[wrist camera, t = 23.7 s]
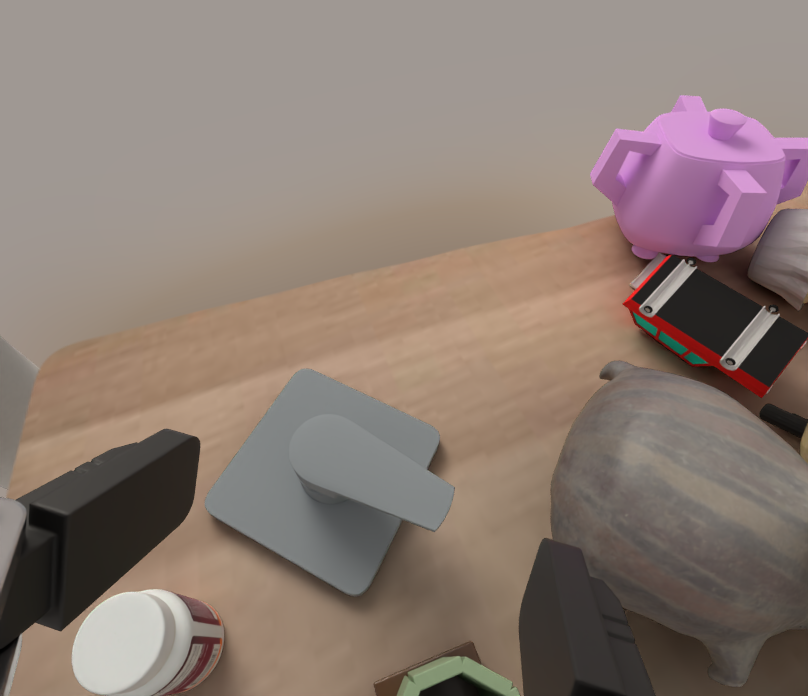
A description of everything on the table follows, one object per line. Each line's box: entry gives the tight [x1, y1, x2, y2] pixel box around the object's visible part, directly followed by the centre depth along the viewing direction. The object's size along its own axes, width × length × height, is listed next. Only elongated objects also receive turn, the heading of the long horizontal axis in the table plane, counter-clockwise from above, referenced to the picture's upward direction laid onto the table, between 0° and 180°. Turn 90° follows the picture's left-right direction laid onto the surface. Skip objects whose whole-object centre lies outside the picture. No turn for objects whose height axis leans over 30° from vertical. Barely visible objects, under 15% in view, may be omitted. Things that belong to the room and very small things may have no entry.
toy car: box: [623, 255, 808, 398], centre depth 39 cm, size 6×12×4 cm, turn 44°
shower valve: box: [205, 369, 455, 596], centre depth 32 cm, size 12×6×15 cm
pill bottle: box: [72, 589, 224, 696], centre depth 25 cm, size 5×5×8 cm
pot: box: [590, 95, 808, 262], centre depth 43 cm, size 18×17×12 cm
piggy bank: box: [551, 361, 808, 687], centre depth 29 cm, size 18×16×14 cm
